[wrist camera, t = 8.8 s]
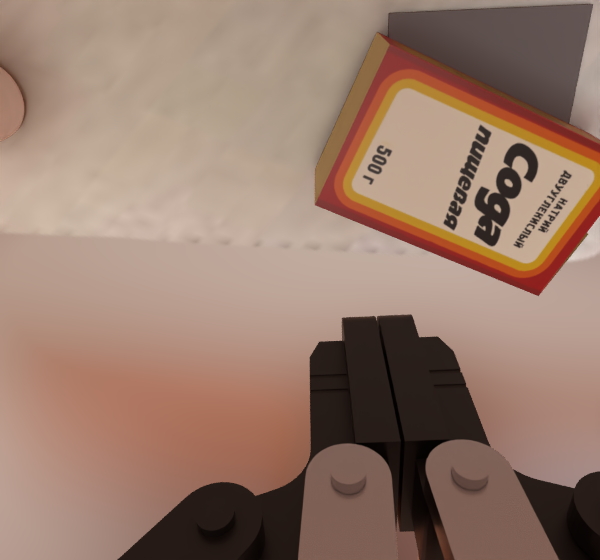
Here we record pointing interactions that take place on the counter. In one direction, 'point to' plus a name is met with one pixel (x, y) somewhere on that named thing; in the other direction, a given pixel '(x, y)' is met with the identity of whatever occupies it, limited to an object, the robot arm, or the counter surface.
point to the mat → (506, 48)
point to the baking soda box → (459, 168)
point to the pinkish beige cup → (9, 106)
